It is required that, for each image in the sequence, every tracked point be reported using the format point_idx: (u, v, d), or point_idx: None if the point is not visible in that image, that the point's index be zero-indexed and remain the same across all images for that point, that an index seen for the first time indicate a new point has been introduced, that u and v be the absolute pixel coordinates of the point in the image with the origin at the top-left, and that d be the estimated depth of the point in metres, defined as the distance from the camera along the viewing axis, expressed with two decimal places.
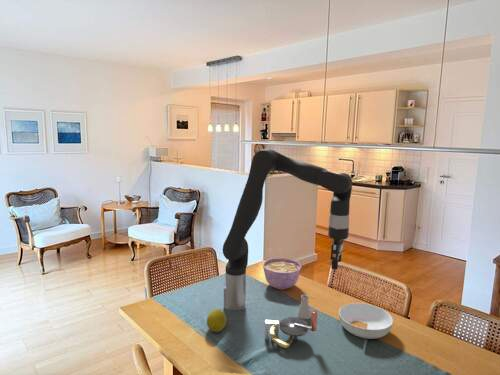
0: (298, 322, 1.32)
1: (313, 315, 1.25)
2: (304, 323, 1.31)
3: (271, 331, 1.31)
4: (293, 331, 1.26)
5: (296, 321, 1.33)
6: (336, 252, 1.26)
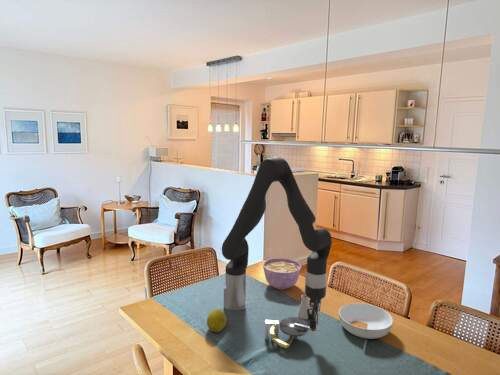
0: (298, 322, 1.32)
1: None
2: (304, 323, 1.31)
3: (271, 331, 1.31)
4: (293, 331, 1.26)
5: (296, 321, 1.33)
6: (313, 316, 1.21)
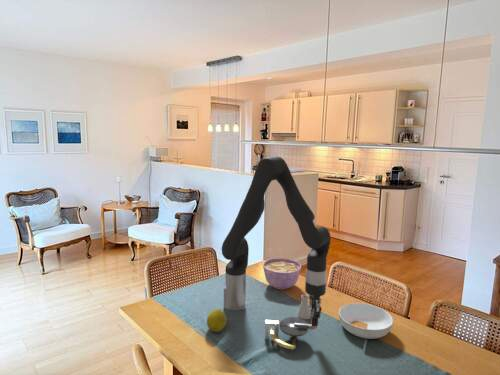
0: (296, 321, 1.32)
1: None
2: (302, 321, 1.32)
3: (272, 335, 1.28)
4: (297, 331, 1.26)
5: (294, 321, 1.33)
6: (319, 313, 1.23)
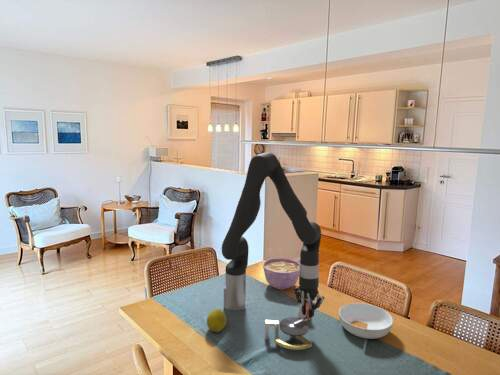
0: (291, 321, 1.33)
1: None
2: (295, 319, 1.34)
3: (284, 343, 1.23)
4: (304, 329, 1.27)
5: (289, 321, 1.32)
6: None
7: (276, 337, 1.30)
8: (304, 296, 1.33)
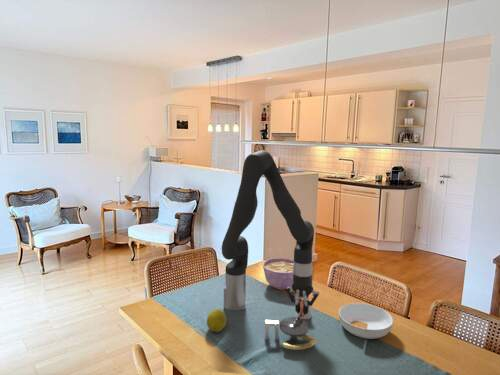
0: (289, 321, 1.32)
1: None
2: (291, 318, 1.34)
3: (293, 345, 1.22)
4: (306, 327, 1.29)
5: (287, 322, 1.32)
6: None
7: (276, 337, 1.30)
8: (299, 294, 1.34)
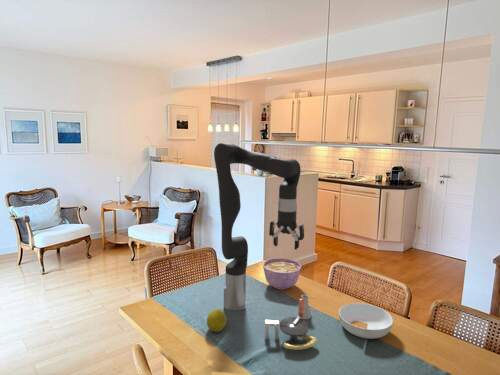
0: (289, 321, 1.32)
1: (303, 301, 1.35)
2: (290, 318, 1.34)
3: (295, 345, 1.22)
4: (306, 326, 1.29)
5: (287, 322, 1.32)
6: (303, 231, 1.37)
7: (276, 337, 1.30)
8: (281, 230, 1.38)
